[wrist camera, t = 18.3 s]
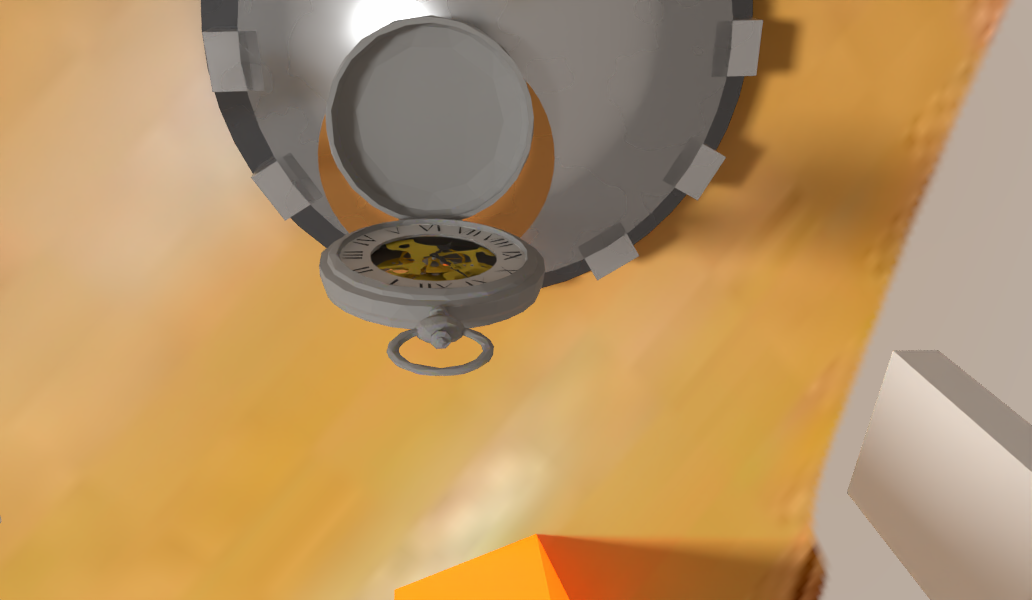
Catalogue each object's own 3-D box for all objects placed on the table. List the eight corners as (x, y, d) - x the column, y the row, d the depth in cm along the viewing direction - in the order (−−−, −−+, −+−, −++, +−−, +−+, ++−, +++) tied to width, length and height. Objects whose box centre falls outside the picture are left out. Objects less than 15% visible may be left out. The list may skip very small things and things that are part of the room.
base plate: (172, -323, 22) (166, -329, 21) (797, -249, 25) (807, -253, 24) (230, 287, 30) (227, 294, 29) (698, 291, 33) (703, 297, 32)
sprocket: (135, 157, 26) (42, 234, 20) (358, -424, 21) (336, -600, 14) (574, 354, 32) (621, 467, 25) (844, -61, 26) (997, -60, 20)
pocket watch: (462, -29, 24) (498, -8, 15) (587, 193, 27) (677, 319, 18) (245, 112, 25) (154, 213, 16) (394, 308, 28) (390, 482, 19)
